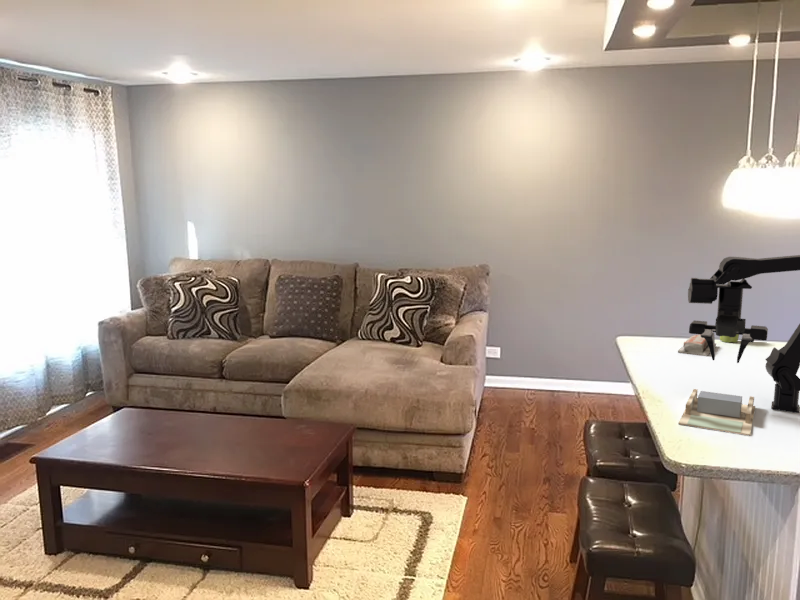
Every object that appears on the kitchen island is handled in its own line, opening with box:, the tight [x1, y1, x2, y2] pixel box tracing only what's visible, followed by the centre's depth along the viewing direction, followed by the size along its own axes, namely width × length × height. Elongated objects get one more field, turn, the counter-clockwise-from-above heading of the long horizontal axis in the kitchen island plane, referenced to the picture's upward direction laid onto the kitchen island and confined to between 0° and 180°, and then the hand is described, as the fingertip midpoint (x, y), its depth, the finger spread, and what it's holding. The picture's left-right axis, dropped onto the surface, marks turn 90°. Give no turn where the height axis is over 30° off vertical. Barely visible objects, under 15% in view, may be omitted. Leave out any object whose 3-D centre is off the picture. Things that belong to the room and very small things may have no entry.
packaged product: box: [677, 334, 717, 357], centre depth 248 cm, size 18×5×10 cm
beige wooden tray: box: [678, 388, 756, 437], centre depth 177 cm, size 24×16×3 cm, turn 150°
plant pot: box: [719, 334, 740, 343], centre depth 260 cm, size 9×9×9 cm
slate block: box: [697, 390, 743, 418], centre depth 179 cm, size 6×10×4 cm, turn 60°
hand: (725, 361), depth 185 cm, fingers open, 6 cm apart
